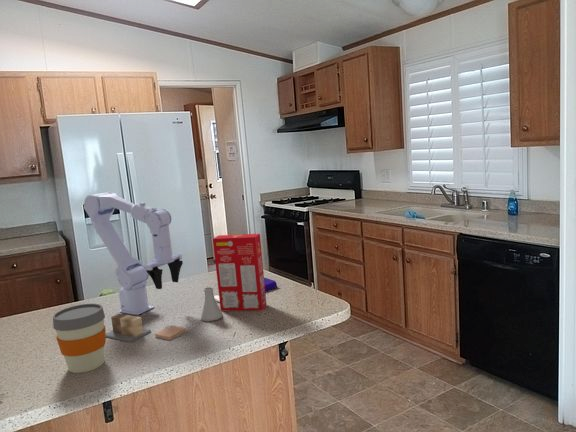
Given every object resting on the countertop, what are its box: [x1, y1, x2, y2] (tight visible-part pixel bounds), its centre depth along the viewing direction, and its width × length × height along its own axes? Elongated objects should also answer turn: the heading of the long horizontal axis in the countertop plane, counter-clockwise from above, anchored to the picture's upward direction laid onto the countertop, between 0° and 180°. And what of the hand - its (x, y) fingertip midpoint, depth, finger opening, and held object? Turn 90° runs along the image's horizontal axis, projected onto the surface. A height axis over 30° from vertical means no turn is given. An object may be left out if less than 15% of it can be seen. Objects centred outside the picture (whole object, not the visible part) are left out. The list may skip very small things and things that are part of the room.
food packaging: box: [212, 233, 267, 312], centre depth 158 cm, size 15×5×25 cm, turn 78°
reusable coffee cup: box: [52, 303, 107, 374], centre depth 124 cm, size 13×13×15 cm
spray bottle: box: [214, 277, 278, 303], centre depth 175 cm, size 3×11×24 cm
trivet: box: [106, 328, 152, 343], centre depth 144 cm, size 12×8×1 cm, turn 60°
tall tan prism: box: [110, 313, 144, 337], centre depth 144 cm, size 10×3×5 cm, turn 60°
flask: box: [200, 286, 223, 322], centre depth 152 cm, size 7×7×10 cm
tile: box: [154, 325, 187, 341], centre depth 142 cm, size 2×7×6 cm
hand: (167, 285), depth 159 cm, fingers open, 7 cm apart
